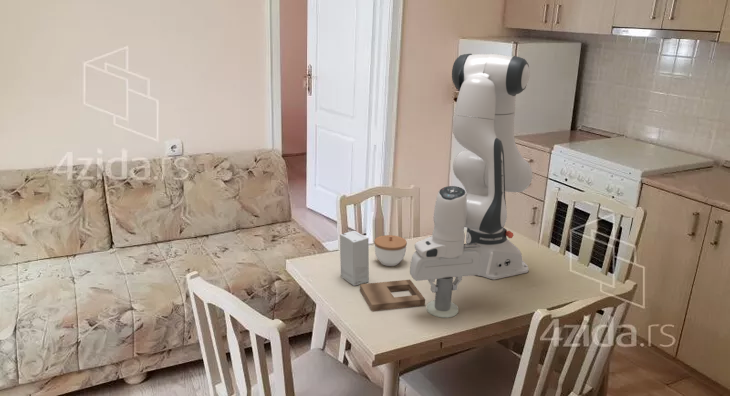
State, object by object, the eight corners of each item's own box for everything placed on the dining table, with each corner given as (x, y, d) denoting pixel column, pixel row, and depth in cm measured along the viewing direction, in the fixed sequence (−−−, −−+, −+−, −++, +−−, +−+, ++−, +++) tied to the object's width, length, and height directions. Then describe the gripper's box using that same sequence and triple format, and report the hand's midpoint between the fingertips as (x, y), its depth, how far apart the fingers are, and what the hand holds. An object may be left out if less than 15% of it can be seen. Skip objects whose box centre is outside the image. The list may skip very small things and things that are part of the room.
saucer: (450, 300, 176) (450, 298, 176) (463, 316, 168) (463, 313, 167) (421, 303, 173) (422, 301, 173) (433, 319, 165) (433, 316, 165)
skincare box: (369, 282, 185) (370, 238, 181) (352, 287, 182) (354, 242, 178) (354, 272, 192) (355, 229, 187) (338, 276, 189) (339, 232, 184)
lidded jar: (375, 269, 195) (377, 243, 192) (371, 256, 205) (372, 230, 202) (408, 268, 196) (409, 242, 193) (402, 255, 206) (403, 230, 203)
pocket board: (409, 285, 185) (410, 279, 184) (424, 305, 173) (425, 299, 172) (359, 290, 180) (360, 284, 180) (371, 311, 168) (372, 304, 168)
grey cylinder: (440, 312, 167) (442, 279, 164) (431, 305, 171) (433, 273, 168) (453, 309, 169) (456, 276, 166) (444, 302, 173) (447, 270, 170)
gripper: (477, 238, 170) (472, 282, 174) (409, 243, 164) (406, 288, 169) (487, 247, 164) (482, 292, 168) (417, 252, 159) (414, 299, 163)
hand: (443, 290), depth 168 cm, fingers closed on grey cylinder, 5 cm apart
